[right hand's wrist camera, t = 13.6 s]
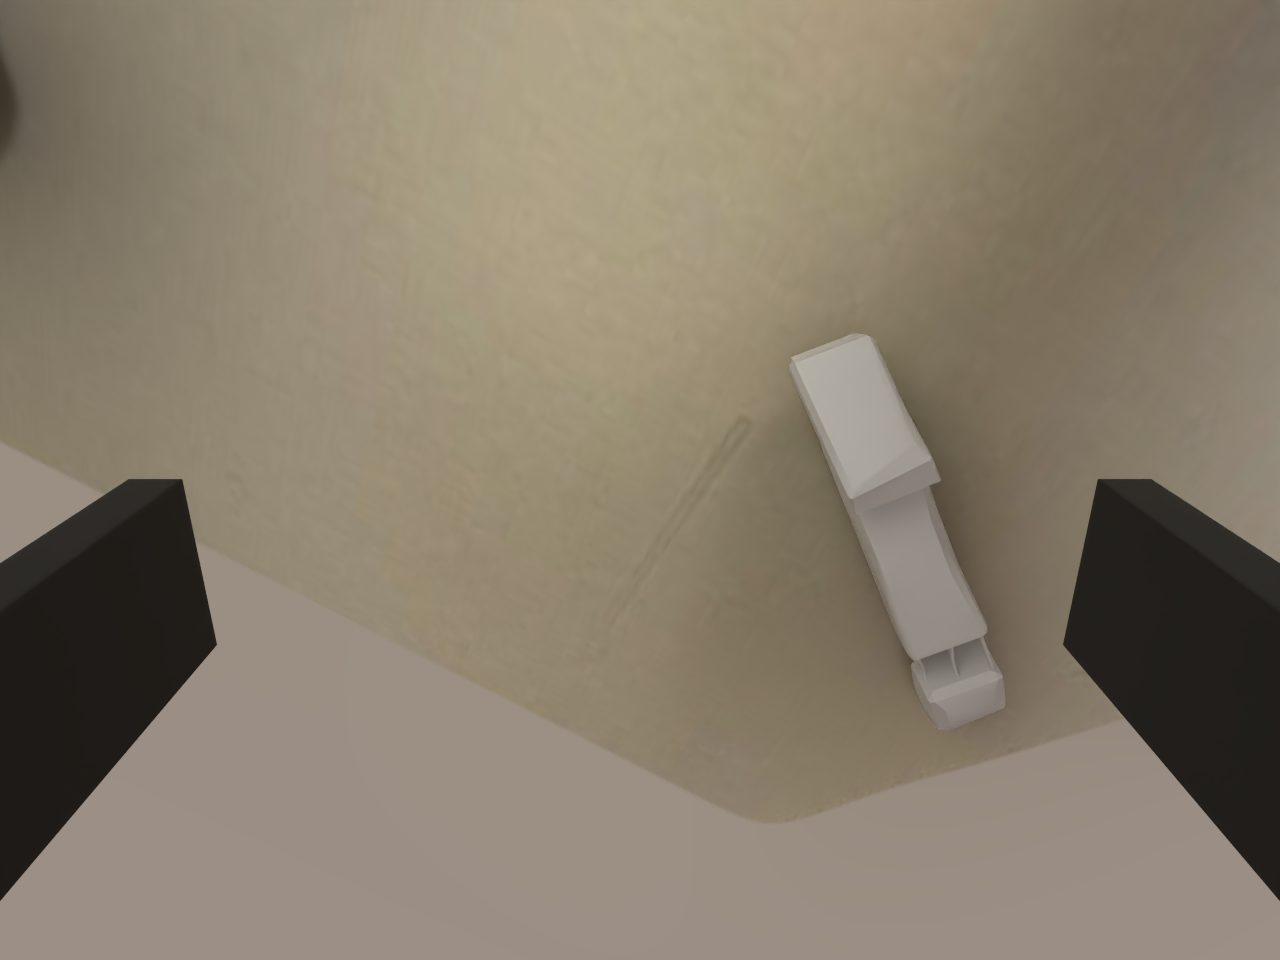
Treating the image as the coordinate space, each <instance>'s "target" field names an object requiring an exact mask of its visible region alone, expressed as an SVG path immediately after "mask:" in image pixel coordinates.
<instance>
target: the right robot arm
mask: <svg viewBox="0 0 1280 960" xmlns="http://www.w3.org/2000/svg"><path fill="white" fill-rule="evenodd" d="M216 645H217V643H216V638H215V633H214V629H213V624H212V619H211V614H210V610H209V605H208V600H207V595H206V590H205V586H204V581H203V576H202V571H201V567H200V562H199V557H198V552H197V548H196V543H195V538H194V533H193V528H192V524H191V519H190V514H189V509H188V505H187V500H186V495H185V490H184V486H183V481H182V479H128V480H127V481H125V482H124V483H122V484H121V485H119V486H118V487H116V488H115V489H113V490H112V491H110V492H108V493H107V494H105V495H104V496H102V497H101V498H99V499H98V500H96V501H95V502H93V503H92V504H90V505H89V506H87V507H86V508H84V509H83V510H81V511H79V512H78V513H76V514H75V515H73V516H72V517H70V518H69V519H67V520H66V521H64V522H63V523H61V524H60V525H58V526H57V527H55V528H53V529H52V530H50V531H49V532H47V533H46V534H44V535H43V536H41V537H40V538H38V539H37V540H35V541H34V542H32V543H30V544H29V545H27V546H26V547H24V548H23V549H21V550H20V551H18V552H17V553H15V554H14V555H12V556H11V557H9V558H8V559H6V560H5V561H3V562H2V563H0V900H1V899H2V898H3V897H4V896H5V895H6V893H7V892H8V891H9V890H10V889H11V887H12V886H13V885H14V884H15V883H16V882H17V880H18V879H19V878H20V877H21V876H22V874H23V873H24V872H25V871H26V870H27V869H28V867H29V866H30V865H31V864H32V863H33V861H34V860H35V859H36V858H37V857H38V856H39V854H40V853H41V852H42V851H43V850H44V848H45V847H46V846H47V845H48V844H49V843H50V841H51V840H52V839H53V838H54V837H55V835H56V834H57V833H58V832H59V831H60V830H61V828H62V827H63V826H64V825H65V824H66V822H67V821H68V820H69V819H70V818H71V817H72V815H73V814H74V813H75V812H76V811H77V810H78V808H79V807H80V806H81V805H82V804H83V802H84V801H85V800H86V799H87V798H88V797H89V795H90V794H91V793H92V792H93V791H94V789H95V788H96V787H97V786H98V785H99V783H100V782H101V781H102V780H103V779H104V778H105V776H106V775H107V774H108V773H109V772H110V771H111V769H112V768H113V767H114V766H115V765H116V763H117V762H118V761H119V760H120V759H121V757H122V756H123V755H124V754H125V753H126V752H127V750H128V749H129V748H130V747H131V746H132V745H133V743H134V742H135V741H136V740H137V739H138V737H139V736H140V735H141V734H142V733H143V732H144V730H145V729H146V728H147V727H148V726H149V724H150V723H151V722H152V721H153V720H154V719H155V717H156V716H157V715H158V714H159V713H160V711H161V710H162V709H163V708H164V707H165V706H166V704H167V703H168V702H169V701H170V700H171V698H172V697H173V696H174V695H175V694H176V693H177V691H178V690H179V689H180V688H181V687H182V685H183V684H184V683H185V682H186V681H187V679H188V678H189V677H190V676H191V675H192V674H193V672H194V671H195V670H196V669H197V668H198V666H199V665H200V664H201V663H202V662H203V661H204V659H205V658H206V657H207V656H208V655H209V654H210V652H211V651H212V650H213V649H214V648H215V646H216ZM1063 645H1064V646H1065V648H1066V649H1067V650H1068V651H1069V652H1070V654H1071V655H1072V656H1073V657H1074V658H1075V659H1076V661H1077V662H1078V663H1079V664H1080V665H1081V667H1082V668H1083V669H1084V670H1085V671H1086V672H1087V674H1088V675H1089V676H1090V677H1091V678H1092V680H1093V681H1094V682H1095V683H1096V684H1097V685H1098V687H1099V688H1100V689H1101V690H1102V691H1103V693H1104V694H1105V695H1106V696H1107V697H1108V698H1109V700H1110V701H1111V702H1112V703H1113V704H1114V706H1115V707H1116V708H1117V709H1118V710H1119V711H1120V713H1121V714H1122V715H1123V716H1124V717H1125V719H1126V720H1127V721H1128V722H1129V723H1130V724H1131V726H1132V727H1133V728H1134V729H1135V730H1136V732H1137V733H1138V734H1139V735H1140V736H1141V737H1142V739H1143V740H1144V741H1145V742H1146V743H1147V745H1148V746H1149V747H1150V748H1151V749H1152V750H1153V752H1154V753H1155V754H1156V755H1157V756H1158V757H1159V759H1160V760H1161V761H1162V762H1163V763H1164V765H1165V766H1166V767H1167V768H1168V769H1169V770H1170V772H1171V773H1172V774H1173V775H1174V776H1175V778H1176V779H1177V780H1178V781H1179V782H1180V783H1181V785H1182V786H1183V787H1184V788H1185V789H1186V791H1187V792H1188V793H1189V794H1190V795H1191V797H1192V798H1193V799H1194V800H1195V801H1196V802H1197V803H1198V805H1199V806H1200V807H1201V808H1202V810H1203V811H1204V812H1205V813H1206V814H1207V815H1208V817H1209V818H1210V819H1211V820H1212V821H1213V823H1214V824H1215V825H1216V826H1217V827H1218V828H1219V830H1220V831H1221V832H1222V833H1223V834H1224V835H1225V837H1226V838H1227V839H1228V840H1229V841H1230V843H1231V844H1232V845H1233V846H1234V847H1235V848H1236V850H1237V851H1238V852H1239V853H1240V854H1241V856H1242V857H1243V858H1244V859H1245V860H1246V861H1247V863H1248V864H1249V865H1250V866H1251V867H1252V869H1253V870H1254V871H1255V872H1256V873H1257V874H1258V876H1259V877H1260V878H1261V879H1262V880H1263V882H1264V883H1265V884H1266V885H1267V886H1268V887H1269V889H1270V890H1271V891H1272V892H1273V893H1274V895H1275V896H1276V897H1277V898H1278V899H1279V900H1280V563H1279V562H1277V561H1276V560H1274V559H1272V558H1271V557H1269V556H1268V555H1266V554H1265V553H1263V552H1262V551H1260V550H1259V549H1257V548H1256V547H1254V546H1253V545H1251V544H1250V543H1248V542H1246V541H1245V540H1243V539H1242V538H1240V537H1239V536H1237V535H1236V534H1234V533H1233V532H1231V531H1230V530H1228V529H1227V528H1225V527H1224V526H1222V525H1220V524H1219V523H1217V522H1216V521H1214V520H1213V519H1211V518H1210V517H1208V516H1207V515H1205V514H1204V513H1202V512H1201V511H1199V510H1198V509H1196V508H1194V507H1193V506H1191V505H1190V504H1188V503H1187V502H1185V501H1184V500H1182V499H1181V498H1179V497H1178V496H1176V495H1175V494H1173V493H1172V492H1170V491H1168V490H1167V489H1165V488H1164V487H1162V486H1161V485H1159V484H1158V483H1156V482H1155V481H1153V480H1152V479H1098V481H1097V486H1096V490H1095V495H1094V500H1093V505H1092V509H1091V514H1090V519H1089V524H1088V528H1087V533H1086V538H1085V543H1084V548H1083V552H1082V557H1081V562H1080V567H1079V571H1078V576H1077V581H1076V586H1075V590H1074V595H1073V600H1072V605H1071V609H1070V614H1069V619H1068V624H1067V629H1066V633H1065V638H1064V643H1063Z"/></svg>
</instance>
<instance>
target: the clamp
mask: <svg viewBox="0 0 1280 960" xmlns="http://www.w3.org/2000/svg"><path fill="white" fill-rule="evenodd" d="M789 374H790V376H791V378H792V380H793V383H794V385H795V387H796V389H797V391H798V394H799V396H800V399H801V401H802V403H803V405H804V407H805V410H806V412H807V414H808V416H809V418H810V421H811V423H812V425H813V427H814V430H815V432H816V434H817V436H818V439H819V441H820V443H821V448H822V451H823V454H824V456H825V459H826V461H827V463H828V466H829V468H830V471H831V473H832V476H833V478H834V480H835V483H836V485H837V488H838V490H839V493H840V495H841V498H842V500H843V503H844V505H845V508H846V510H847V513H848V515H849V518H850V520H851V523H852V525H853V527H854V530H855V532H856V535H857V537H858V540H859V542H860V545H861V547H862V550H863V552H864V555H865V557H866V560H867V562H868V565H869V567H870V570H871V572H872V575H873V577H874V580H875V582H876V585H877V587H878V590H879V592H880V595H881V597H882V600H883V602H884V605H885V607H886V610H887V612H888V615H889V617H890V620H891V623H892V625H893V628H894V630H895V632H896V634H897V636H898V638H899V640H900V641H901V643H902V645H903V647H904V649H905V651H906V653H907V654H908V655H909V656H910V657H911V658H912V659H913V660H914V662H912V664H911V672H912V678H913V684H914V687H915V690H916V693H917V696H918V698H919V700H920V702H921V705H922V707H923V709H924V711H925V712H926V713H927V715H928V716H929V718H930V719H931V720H932V722H933V723H934V725H935V726H936V727H937V729H938V730H952V729H954V728H957V727H959V726H962V725H964V724H967V723H969V722H972V721H974V720H977V719H979V718H982V717H984V716H986V715H989V714H991V713H994V712H996V711H999V710H1001V709H1003V708H1004V707H1005V705H1006V700H1005V690H1004V681H1003V675H1002V673H1001V672H1000V670H999V668H998V666H997V664H996V662H995V660H994V658H993V657H992V655H991V653H990V651H989V649H988V647H987V645H986V642H985V639H984V635H985V634H986V633H987V624H986V621H985V619H984V617H983V614H982V612H981V610H980V608H979V606H978V604H977V602H976V600H975V598H974V596H973V593H972V591H971V589H970V587H969V585H968V583H967V581H966V579H965V577H964V575H963V572H962V570H961V568H960V566H959V564H958V561H957V559H956V556H955V554H954V551H953V548H952V546H951V543H950V541H949V538H948V536H947V533H946V530H945V528H944V525H943V523H942V520H941V518H940V515H939V512H938V510H937V507H936V504H935V501H934V498H933V495H932V491H931V488H930V485H932V484H935V483H937V482H940V481H941V478H940V476H939V473H938V471H937V468H936V466H935V463H934V461H933V459H932V456H931V454H930V452H929V451H928V449H927V447H926V445H925V443H924V441H923V439H922V438H921V436H920V434H919V432H918V430H917V428H916V426H915V425H914V423H913V421H912V419H911V417H910V415H909V414H908V412H907V410H906V408H905V406H904V403H903V401H902V399H901V397H900V395H899V392H898V390H897V388H896V386H895V384H894V381H893V379H892V377H891V375H890V373H889V370H888V368H887V366H886V364H885V362H884V359H883V357H882V355H881V353H880V351H879V348H878V346H877V344H876V342H875V340H874V338H873V337H870V336H868V335H865V334H858V333H853V334H850V335H848V336H845V337H842V338H840V339H837V340H834V341H832V342H829V343H827V344H824V345H821V346H819V347H816V348H814V349H811V350H808V351H806V352H803V353H801V354H798V355H795V356H793V357H791V359H790V364H789Z"/></svg>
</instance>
